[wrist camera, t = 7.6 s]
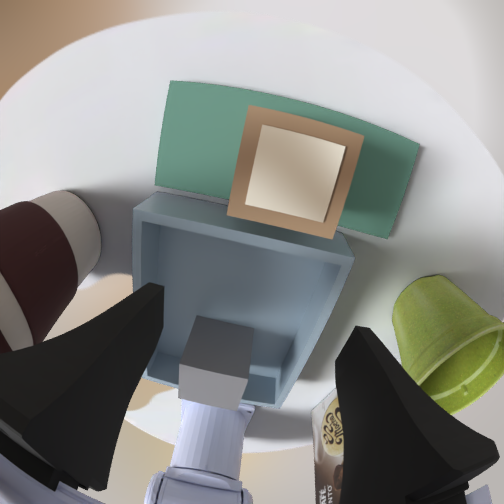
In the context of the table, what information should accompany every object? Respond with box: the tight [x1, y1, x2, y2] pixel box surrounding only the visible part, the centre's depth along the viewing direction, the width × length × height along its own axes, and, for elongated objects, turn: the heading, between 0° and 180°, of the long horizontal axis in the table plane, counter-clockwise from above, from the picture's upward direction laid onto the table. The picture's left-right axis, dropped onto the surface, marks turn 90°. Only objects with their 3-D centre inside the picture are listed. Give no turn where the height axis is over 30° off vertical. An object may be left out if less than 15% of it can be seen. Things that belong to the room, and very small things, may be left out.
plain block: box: [178, 315, 254, 411], centre depth 20 cm, size 4×4×5 cm
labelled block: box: [227, 105, 364, 239], centre depth 12 cm, size 4×4×5 cm
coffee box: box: [311, 388, 344, 504], centre depth 18 cm, size 9×6×16 cm
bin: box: [132, 192, 355, 409], centre depth 19 cm, size 15×12×4 cm
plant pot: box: [392, 275, 504, 415], centre depth 16 cm, size 9×9×9 cm
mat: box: [155, 81, 420, 239], centre depth 15 cm, size 6×15×1 cm, turn 79°
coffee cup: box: [0, 191, 101, 354], centre depth 12 cm, size 10×10×15 cm
